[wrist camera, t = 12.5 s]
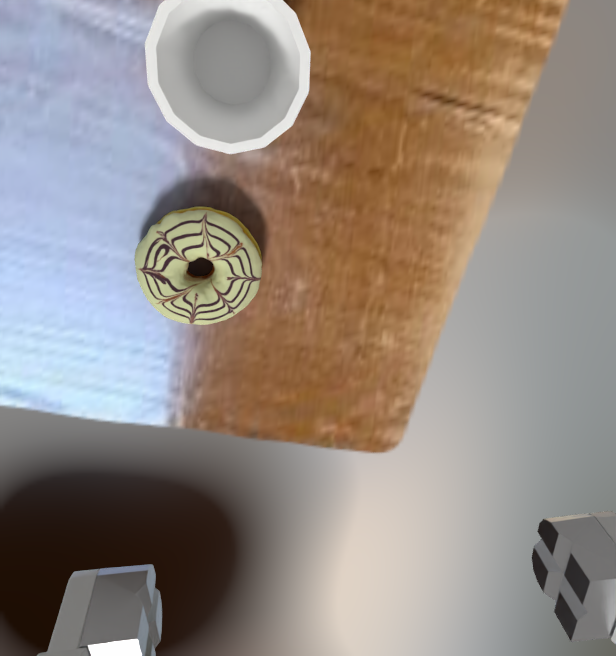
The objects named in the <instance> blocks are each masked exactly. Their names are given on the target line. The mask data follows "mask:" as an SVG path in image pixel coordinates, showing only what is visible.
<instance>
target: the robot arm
mask: <svg viewBox="0 0 616 656" xmlns="http://www.w3.org/2000/svg"><path fill="white" fill-rule="evenodd" d="M538 533H539V535H540V537H541V538H542V539H541V540H540V541H539V542H538V543H537V544H536V545H535V546H534V548H533V553H532V563H533V570H534V573H535V576H536V579H537V582H538V583H539V585H540V587H541V589H542V591H543V592H544V593H545V594H546V595H548V596H549V597H551V598H552V599H553V600H555V601H556V602H555V609H554V613H555V614H556V616H557V618H558V620H559V621H560V623H561V625H562V627H563V629H564V630H565V632H566V634H567V635H568V637H569V639H570V641H571V642H574V641H583V640H593V639H602V638H612V639H611V640H612V641H613V642H614V643H615V644H616V513H614V512H613V511H605V512H597V513H589V514H585V513H584V514H576V515H569V516H561V517H553V518H546V519H543V520H542V521H541V522H540V523H539V527H538ZM155 578H156V575H155V571H154V567H153V565H139V566H128V567H117V568H106V569H96V570H86V571H77V572H74V573H73V574H72V576H71V577H70V579H69V581H68V585H67V588H66V591H65V595H64V598H63V601H62V605H61V608H60V612H59V615H58V618H57V621H56V625H55V628H54V631H53V635H52V638H51V641H50V645H49V648H48V652H45V653H39V654H38V655H37V656H156V655H155V651H154V648H155V647H156V646H157V645H158V643H159V642H160V638H161V629H162V606H161V597H160V592H159V590H157V589H156V588H154V586H155Z"/></svg>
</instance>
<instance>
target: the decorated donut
mask: <svg viewBox="0 0 616 656" xmlns="http://www.w3.org/2000/svg"><path fill="white" fill-rule="evenodd" d="M199 257H204V258H206V259H208V260H210V261H211V262H212V263H213V266H212V267H213V269H212V271H211V272H210V273H209V274H208V275H205V276H194V275H192V274H191V273H190V272H189V271H188V270H187V268H188V267H189V262H191V261H194V260H196V259H197V258H199ZM135 265H136V272H137V279H138V282H139V283H140V286H141V289H142V290H143V293H144V294H145V296H146V297H147V300H148V301H149V302H150V303H151V304H152V305H153V307H154V308H155V309H156V310H157V311H159V312H160V313H161V314H162V315H163V316H165V317H167V318H169V319H172V320H175V321H177V322H182V323H189V324H197V325H206V324H211V323H216V322H220V321H223V320H226V319H228V318H230V317H232V316H234V315H235V314H237V313H238V312H239V311H241V310H242V309H244V308H245V307H246V306H247V305H248V304H249V303H250V302H251V300H252V299H253V298H254V297H255V295H256V293H257V291H258V289H259V283H260V279H261V274H262V256H261V251H260V248H259V246H258V244H257V242H256V241H255V239H254V238H253V237H252V235H251V234H250V232H249V230H248V229H247V228H246V227H245V226H244V225H243V224H242V223H241V222H240V221H239V220H238V219H237V218H235V217H234V216H232V215H231V214H229V213H226V212H224V211H220V210H215V209H213V208H211V207H193V208H188V209H182V210H177V211H172V212H170V213H168V214H166V215H165V216H164V217H162V219H161V220H160V221H158V222H157V223H156V224H155V225H152V226H151V227H150V229H149V231H148V233H147V235H146V236H145V237H144V238H143V240H142V241H141V242H140V243H139V244H138V246H137V249H136V252H135Z"/></svg>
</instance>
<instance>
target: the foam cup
mask: <svg viewBox="0 0 616 656" xmlns="http://www.w3.org/2000/svg"><path fill="white" fill-rule="evenodd" d="M145 52H146V65H147V79H148V86H149V88H150V90H151V92H152V94H153V96H154V98H155V100H156V102H157V104H158V105H159V107H160V109H161V111H162V113H163V115H164V117H165V119H166V121H167V122H168V123H170V124H171V125H172V126H173V127H175V128H176V129H177V130H178V131H179V132H181V133H182V134H183V135H184V136H185V137H187V138H188V139H189V140H190V141H192V142H193V143H194V144H195V145H197V146H201V147H205V148H209V149H213V150H216V151H220V152H224V153H228V154H234V153H239V152H244V151H249V150H254V149H259V148H264V147H266V146H267V145H268V144H269V143H271V142H272V141H273V140H274V139H276V138H277V137H278V136H280V135H281V134H282V133H283V132H285V131H286V130H287V129H288V128H290V127H291V126H292V125H293V123H294V121H295V119H296V117H297V115H298V113H299V111H300V109H301V107H302V105H303V103H304V101H305V99H306V97H307V95H308V93H309V76H310V49H309V47H308V44H307V42H306V39H305V36H304V34H303V31H302V28H301V26H300V23H299V20H298V18H297V15H296V13H295V12H294V11H293V10H292V9H291V8H290V7H289V6H288V5H287V4H286V3H285V2H284V1H283V0H165V1H164V2H162V3H161V4H160V5H159V7H158V10H157V13H156V15H155V18H154V21H153V23H152V26H151V29H150V31H149V34H148V37H147V39H146V42H145Z"/></svg>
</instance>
